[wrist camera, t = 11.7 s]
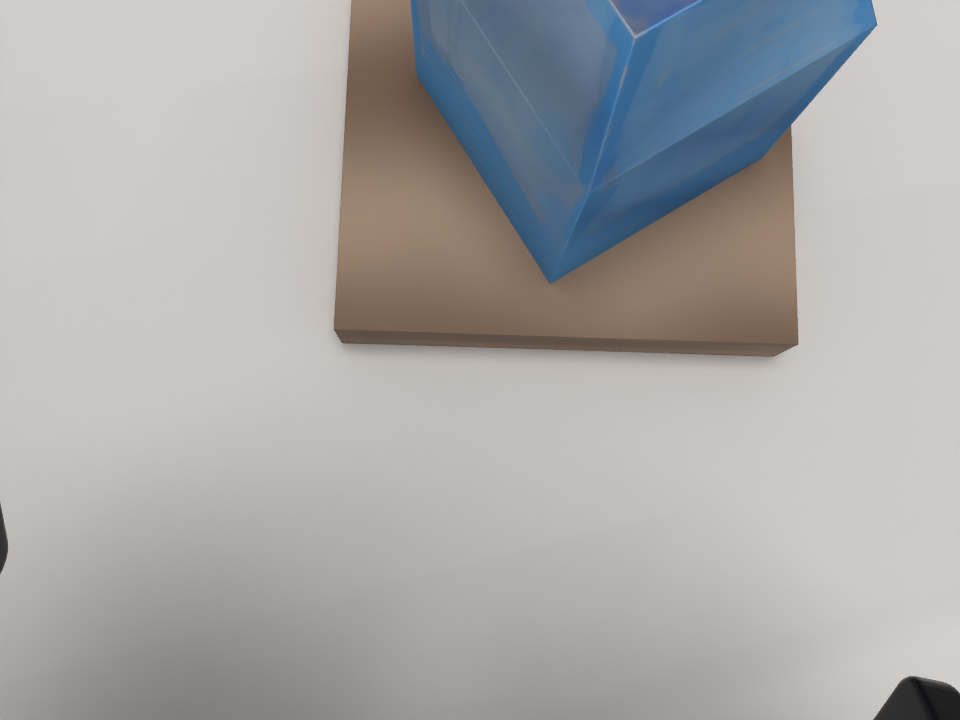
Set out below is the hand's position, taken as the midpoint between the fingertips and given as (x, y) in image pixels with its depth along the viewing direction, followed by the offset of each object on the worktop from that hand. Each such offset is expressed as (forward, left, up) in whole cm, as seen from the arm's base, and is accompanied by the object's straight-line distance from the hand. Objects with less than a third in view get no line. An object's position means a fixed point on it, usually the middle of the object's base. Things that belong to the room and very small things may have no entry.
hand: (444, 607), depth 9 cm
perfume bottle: (+11, -3, -12) cm, 16 cm away
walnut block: (+11, -3, -14) cm, 18 cm away
